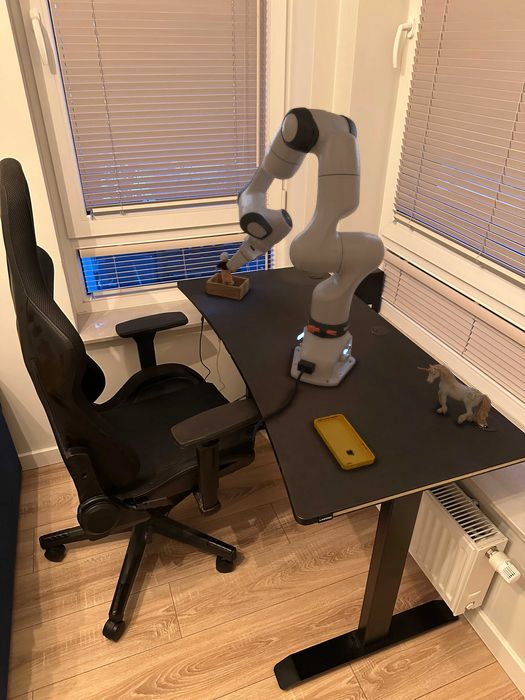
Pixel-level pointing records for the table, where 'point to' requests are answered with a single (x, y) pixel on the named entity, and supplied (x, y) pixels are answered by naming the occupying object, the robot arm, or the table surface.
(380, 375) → the table surface
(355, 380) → the table surface
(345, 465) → the phone case
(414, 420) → the table surface
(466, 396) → the unicorn figurine
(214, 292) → the holder
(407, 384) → the table surface
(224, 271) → the grandmother figurine
